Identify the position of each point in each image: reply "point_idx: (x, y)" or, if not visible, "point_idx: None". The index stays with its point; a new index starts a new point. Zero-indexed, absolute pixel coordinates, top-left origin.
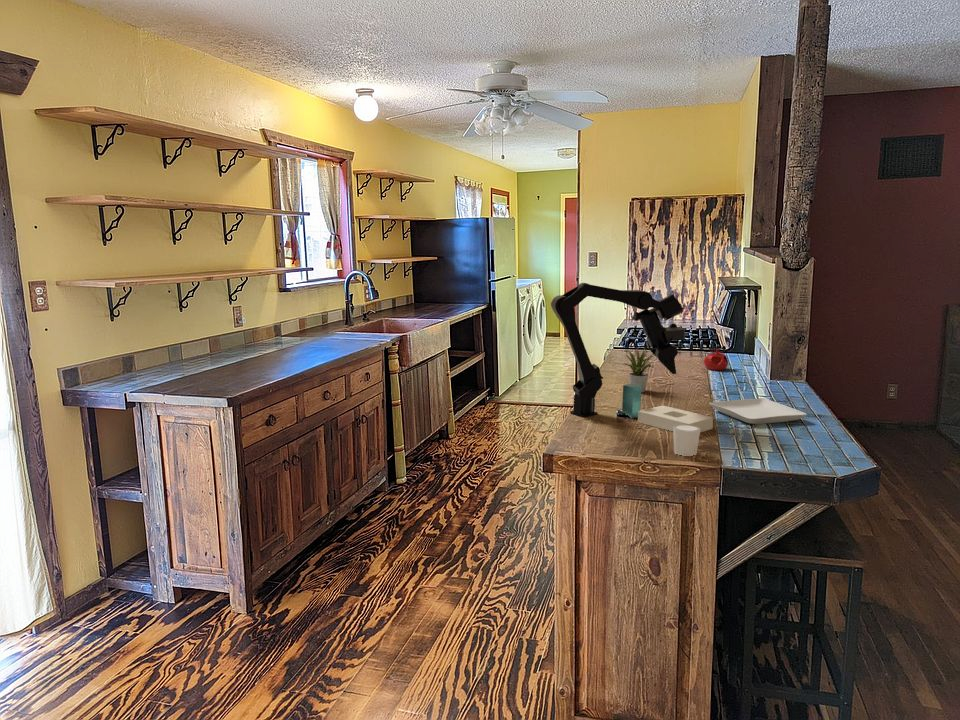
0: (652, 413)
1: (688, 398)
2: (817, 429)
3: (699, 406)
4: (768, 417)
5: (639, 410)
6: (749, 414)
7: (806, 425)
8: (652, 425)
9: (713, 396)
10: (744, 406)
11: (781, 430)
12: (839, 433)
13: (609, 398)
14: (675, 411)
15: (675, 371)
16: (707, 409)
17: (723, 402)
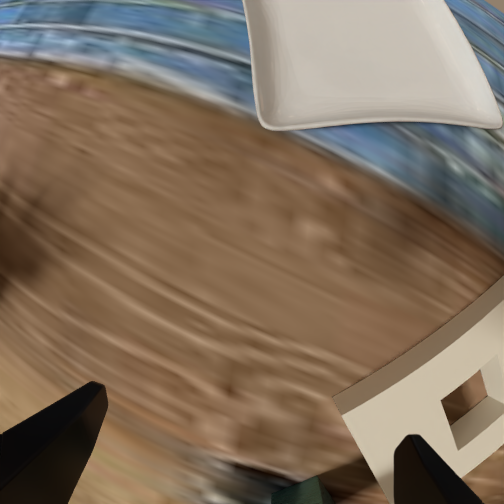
0: None
1: (71, 149)
2: (469, 10)
3: (192, 152)
4: (480, 65)
5: (321, 492)
6: (362, 50)
7: None
8: None
9: (80, 61)
10: (269, 20)
11: (499, 80)
12: (486, 3)
13: None
14: (448, 392)
15: (429, 450)
16: (247, 141)
17: (259, 69)
